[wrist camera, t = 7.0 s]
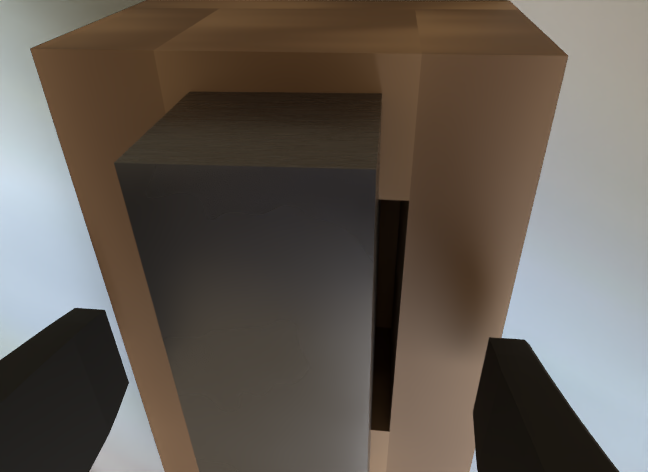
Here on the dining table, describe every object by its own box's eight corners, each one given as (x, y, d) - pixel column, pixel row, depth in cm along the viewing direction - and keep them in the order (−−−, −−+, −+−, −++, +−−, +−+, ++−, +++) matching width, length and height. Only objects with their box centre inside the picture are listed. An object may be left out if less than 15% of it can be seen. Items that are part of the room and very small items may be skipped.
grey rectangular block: (386, 42, 10) (375, 169, 6) (374, 358, 15) (364, 570, 10) (240, 43, 11) (114, 162, 6) (275, 351, 16) (221, 553, 11)
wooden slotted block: (509, 1, 11) (568, 56, 7) (423, 513, 22) (429, 640, 18) (146, -1, 12) (30, 48, 8) (239, 493, 23) (208, 610, 19)
